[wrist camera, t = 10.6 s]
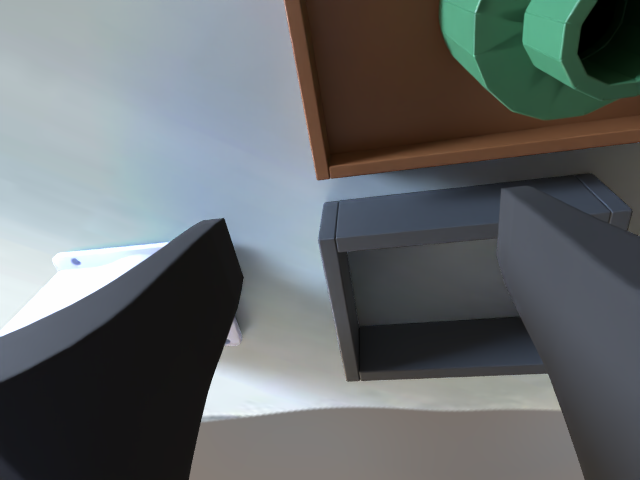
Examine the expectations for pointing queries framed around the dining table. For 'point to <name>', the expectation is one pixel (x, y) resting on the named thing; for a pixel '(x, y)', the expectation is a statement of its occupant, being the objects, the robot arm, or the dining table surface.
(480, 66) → the bottle
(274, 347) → the dining table surface
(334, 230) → the crate
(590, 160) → the dining table surface
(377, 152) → the tray
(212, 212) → the dining table surface
